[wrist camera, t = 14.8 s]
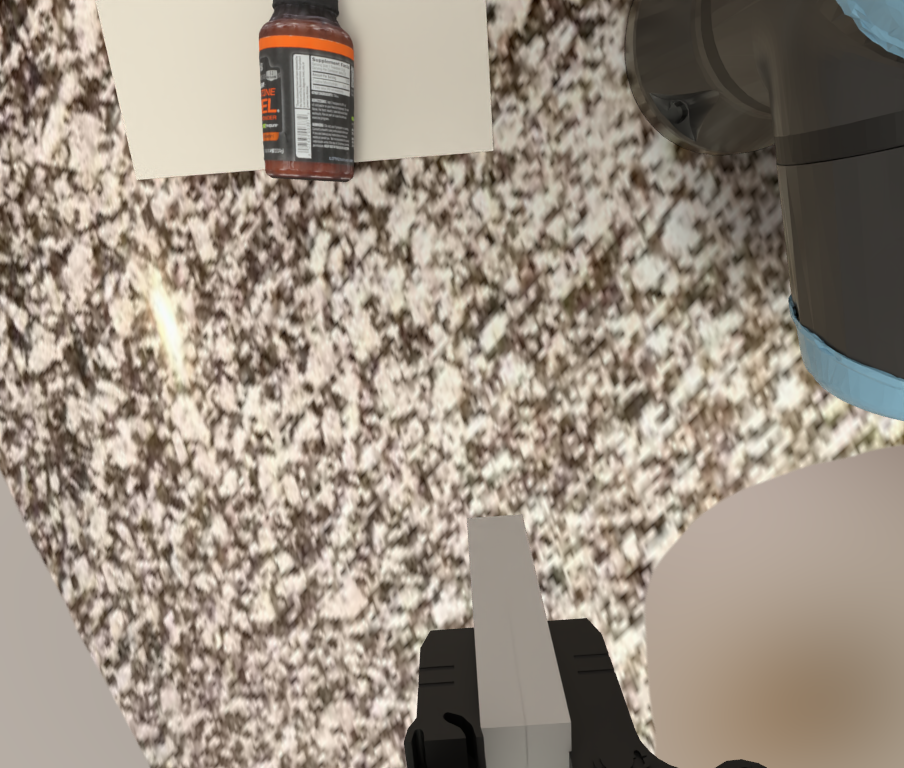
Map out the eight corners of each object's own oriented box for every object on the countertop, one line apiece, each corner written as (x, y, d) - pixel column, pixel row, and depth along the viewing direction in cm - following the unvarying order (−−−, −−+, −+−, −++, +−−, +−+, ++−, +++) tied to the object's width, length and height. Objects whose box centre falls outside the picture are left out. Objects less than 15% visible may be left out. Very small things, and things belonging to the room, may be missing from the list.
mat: (475, -193, 37) (475, -197, 37) (492, 151, 43) (493, 150, 43) (62, -157, 37) (58, -160, 37) (139, 179, 44) (136, 179, 43)
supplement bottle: (253, 178, 41) (244, -9, 38) (335, 182, 44) (332, 10, 41) (279, 177, 37) (271, -37, 33) (368, 183, 40) (369, -13, 36)
